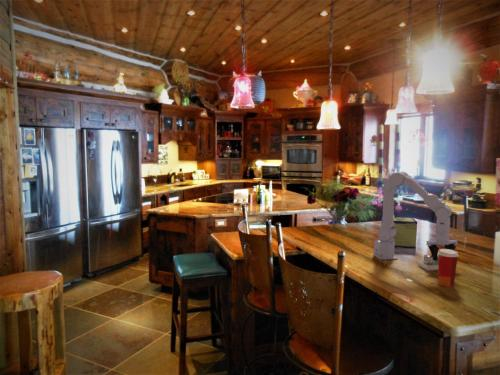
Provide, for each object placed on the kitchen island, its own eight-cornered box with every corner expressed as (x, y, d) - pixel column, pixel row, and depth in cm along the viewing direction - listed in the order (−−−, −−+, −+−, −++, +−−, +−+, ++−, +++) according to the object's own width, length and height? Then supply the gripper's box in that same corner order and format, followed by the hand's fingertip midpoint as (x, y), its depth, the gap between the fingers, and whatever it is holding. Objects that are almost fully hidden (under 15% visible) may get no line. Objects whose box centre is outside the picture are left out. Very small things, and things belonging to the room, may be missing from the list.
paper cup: (450, 281, 162) (452, 248, 160) (460, 287, 154) (462, 253, 153) (431, 281, 162) (433, 248, 160) (441, 287, 154) (443, 253, 152)
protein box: (416, 249, 211) (417, 221, 210) (386, 247, 214) (388, 220, 213) (412, 244, 222) (413, 217, 220) (384, 242, 225) (385, 216, 223)
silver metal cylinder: (427, 268, 177) (427, 257, 176) (421, 265, 181) (422, 255, 180) (435, 267, 177) (435, 257, 177) (429, 264, 181) (429, 254, 181)
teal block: (438, 267, 178) (439, 257, 177) (433, 264, 182) (434, 254, 181) (446, 267, 178) (447, 256, 178) (441, 264, 182) (441, 254, 182)
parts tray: (427, 270, 175) (427, 265, 175) (418, 265, 182) (418, 261, 182) (451, 269, 177) (451, 264, 177) (441, 264, 184) (441, 260, 184)
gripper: (433, 234, 173) (432, 263, 174) (462, 233, 175) (460, 261, 177) (424, 230, 180) (422, 258, 181) (452, 229, 182) (450, 257, 184)
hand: (440, 260), depth 179 cm, fingers open, 6 cm apart
